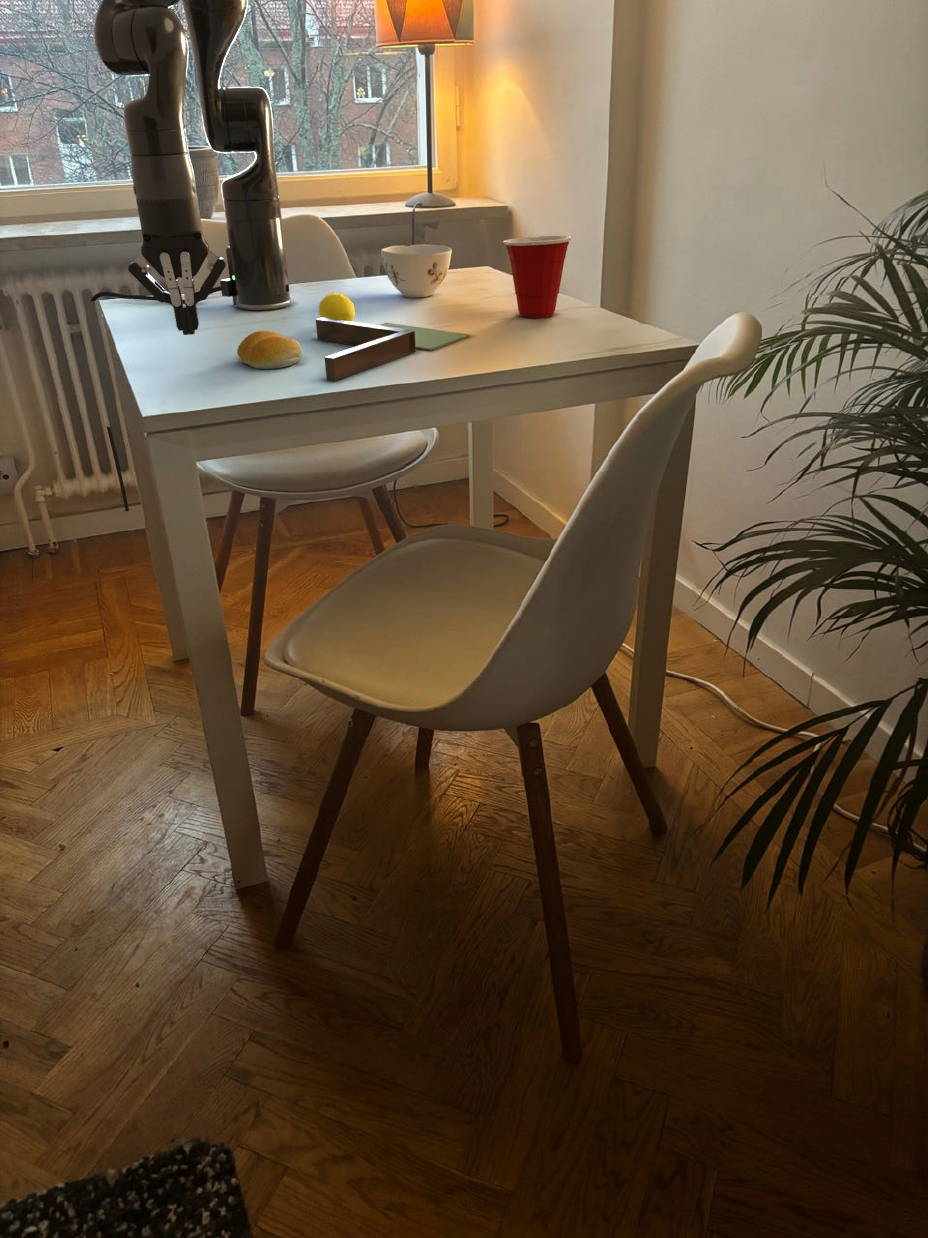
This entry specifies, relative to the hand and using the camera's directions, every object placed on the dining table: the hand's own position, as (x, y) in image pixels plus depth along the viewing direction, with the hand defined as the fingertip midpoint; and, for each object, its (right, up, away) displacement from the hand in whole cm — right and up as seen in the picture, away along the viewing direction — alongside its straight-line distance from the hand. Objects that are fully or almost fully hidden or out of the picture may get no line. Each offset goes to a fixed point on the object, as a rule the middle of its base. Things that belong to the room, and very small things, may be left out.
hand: (189, 333), depth 127 cm
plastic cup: (+49, +11, +27) cm, 57 cm away
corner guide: (+18, -2, +5) cm, 19 cm away
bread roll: (+10, -3, +4) cm, 11 cm away
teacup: (+28, +20, +44) cm, 56 cm away
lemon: (+17, +7, +21) cm, 28 cm away
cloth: (+29, +4, +15) cm, 33 cm away
